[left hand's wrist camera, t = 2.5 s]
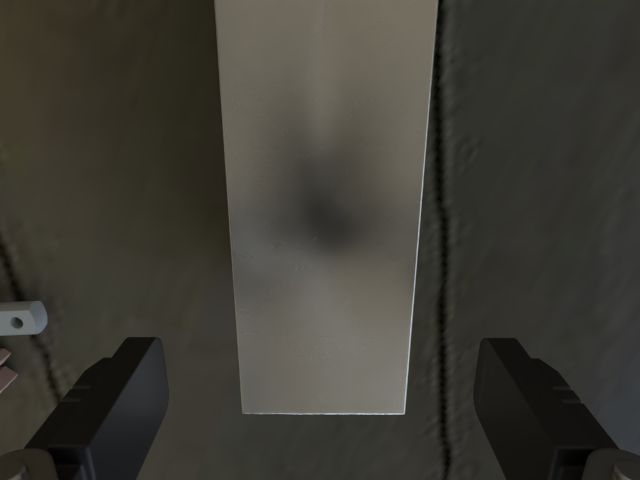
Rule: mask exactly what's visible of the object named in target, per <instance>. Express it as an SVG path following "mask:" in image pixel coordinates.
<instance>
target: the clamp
mask: <svg viewBox="0 0 640 480" xmlns="http://www.w3.org/2000/svg"><path fill="white" fill-rule="evenodd" d="M46 325H47V313H46V310H45V308H44V306H43V304H42V302H41V301H22V302H2V303H0V336H3V335H25V334H38V333H40V332H41V331H42V330H43V329H44V328H45V326H46ZM10 354H11V352H9V351H8V350H6V349H5V348H2V349H0V365H1V364H3V363H4V362H5V360H6V359H7V358H8V356H9V355H10ZM17 375H18V374H17V373H15V372H14V371H12V370H11V369H9V368H8V367H6V366H4V367H2V366H0V393H1V392H2V391H3V390H4V389H5V388H6V387H7V386H8V385H9V384H10V383H11V382H12V381H13V380H14V379H15V378H16V377H17Z"/></svg>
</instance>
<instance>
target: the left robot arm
mask: <svg viewBox="0 0 640 480" xmlns="http://www.w3.org/2000/svg"><path fill="white" fill-rule="evenodd" d="M168 399H169V388H168V380H167V373H166V366H165V359H164V352H163V345H162V341H161V339H160V338H159V337H128V338H126V339H125V340H124V342H123V343H122V344H121V346H120V347H119V348H118V350H117V351H116V353H115V354H114V355H113V357H112V358H103V359H101V360H100V361H98V362H97V363H95V364H94V365H93V366H91V367H90V368H88V369H87V370H85V371H84V373H83V374H82V375H81V376H80V378H79V379H78V380H77V381H76V383H75V384H74V385H73V389H70V390H69V392H68V393H67V394H66V395H65V397H64V398H63V401H62V402H60V403H59V404H58V406H57V407H56V408H55V409H54V411H53V412H52V413H51V415H50V416H49V417H48V418H47V420H46V421H45V422H44V423H43V425H42V426H41V427H40V428H39V430H38V431H37V432H36V434H35V435H34V436H33V437H32V439H31V440H30V441H29V442H28V444H27V445H26V446H25V448H24V449H20V450H16V451H12V452H10V453H7V454H4V455H2V456H0V480H136V478H137V476H138V474H139V471H140V469H141V467H142V465H143V463H144V460H145V458H146V456H147V454H148V451H149V449H150V447H151V445H152V443H153V440H154V438H155V436H156V434H157V432H158V429H159V427H160V425H161V423H162V421H163V418H164V416H165V414H166V410H167V406H168ZM474 405H475V410H476V413H477V416H478V418H479V421H480V423H481V425H482V427H483V429H484V432H485V434H486V436H487V438H488V440H489V443H490V445H491V447H492V449H493V451H494V453H495V456H496V458H497V460H498V462H499V464H500V467H501V469H502V471H503V473H504V475H505V477H506V480H640V456H638V455H636V454H633V453H630V452H628V451H624V450H620V449H619V448H618V447H617V445H616V444H615V443H614V442H613V440H612V439H611V438H610V437H609V435H608V434H607V433H606V432H605V430H604V429H603V428H602V427H601V425H600V424H599V423H598V421H597V420H596V419H595V418H594V416H593V415H592V414H591V413H590V411H589V410H588V409H587V408H586V406H585V405H584V404H581V400H580V399H579V398H578V396H577V395H576V394H575V393H574V391H573V390H570V386H569V385H568V384H567V382H566V381H565V380H564V379H563V377H562V376H561V375H560V374H559V372H558V371H556V370H555V369H553V368H552V367H550V366H549V365H547V364H546V363H545V362H543V361H542V360H540V359H531V358H530V356H529V355H528V354H527V352H526V351H525V350H524V348H523V347H522V346H521V344H520V343H519V342H518V340H517V339H515V338H484V339H483V340H482V341H481V344H480V349H479V356H478V363H477V370H476V377H475V384H474Z"/></svg>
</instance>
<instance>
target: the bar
mask: <svg viewBox="0 0 640 480" xmlns="http://www.w3.org/2000/svg"><path fill="white" fill-rule="evenodd" d="M438 2H439V0H214V15H215V30H216V44H217V59H218V73H219V88H220V102H221V117H222V132H223V146H224V161H225V175H226V190H227V205H228V219H229V234H230V248H231V263H232V277H233V292H234V307H235V321H236V336H237V350H238V365H239V379H240V394H241V409H242V414H402V415H403V414H405V410H406V397H407V385H408V373H409V360H410V348H411V335H412V323H413V311H414V298H415V286H416V274H417V261H418V249H419V237H420V224H421V212H422V200H423V187H424V175H425V163H426V150H427V138H428V126H429V113H430V101H431V89H432V76H433V64H434V52H435V39H436V27H437V14H438Z"/></svg>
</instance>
